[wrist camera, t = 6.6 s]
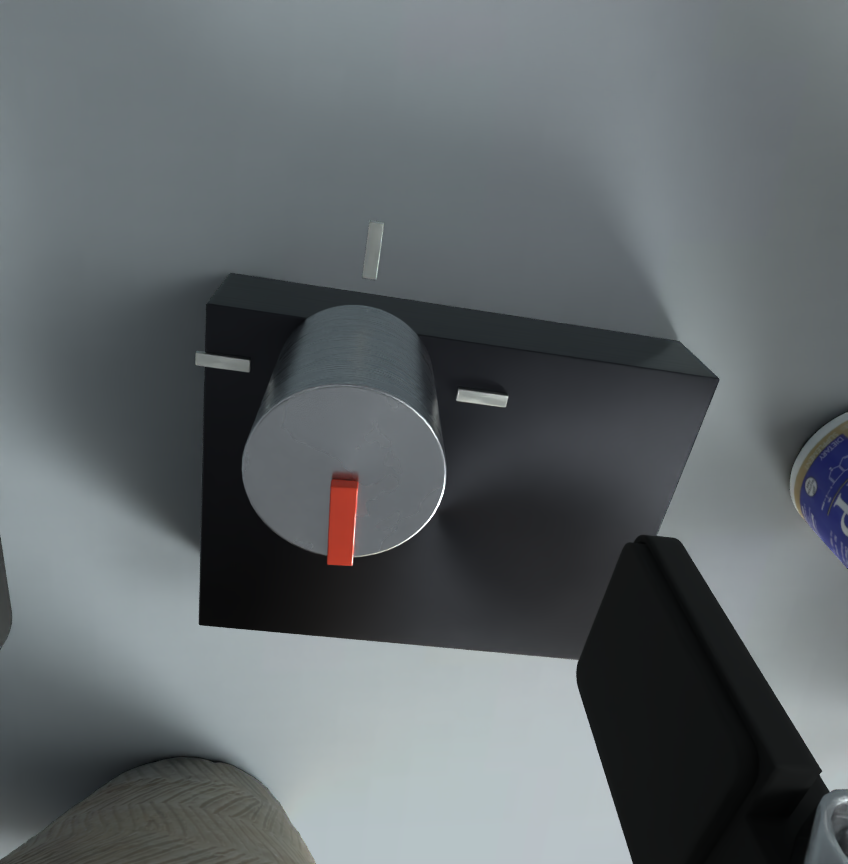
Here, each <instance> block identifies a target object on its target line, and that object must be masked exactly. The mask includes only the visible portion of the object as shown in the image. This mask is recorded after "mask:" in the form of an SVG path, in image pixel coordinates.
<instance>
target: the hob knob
mask: <svg viewBox="0 0 848 864" xmlns="http://www.w3.org/2000/svg"><path fill="white" fill-rule="evenodd" d="M242 477H243V483H244V487H245V491H246V494H247V496H248V498H249V501H250V503H251V505H252V506H253V508H254V510H255V511H256V513H257V514H258V516H259V517H260V518H261V519H262V521H263V522H264V523H265V524H266V525H267V526H268V527H269V528H270V529H271V530H272V531H273V532H275V533H276V534H277V535H279V536H280V537H281V538H282V539H284V540H286V541H288V542H289V543H291V544H293V545H295V546H297V547H299V548H302V549H304V550H307V551H310V552H313V553H316V554H321V555H325V556H327V564H328V565H345V566H352V565H353V557H362V556H368V555H373V554H378V553H381V552H384V551H387V550H389V549H392V548H394V547H396V546H398V545H400V544H402V543H404V542H405V541H407V540H408V539H410V538H411V537H413V536H414V535H415V534H416V533H418V532H419V531H420V530H421V529H422V528H423V527H424V526H425V525H426V524H427V523H428V521H429V520H430V519H431V517H432V516H433V515H434V513H435V511H436V510H437V508H438V506H439V504H440V502H441V499H442V497H443V494H444V490H445V485H446V477H447V467H446V457H445V450H444V444H443V437H442V430H441V423H440V416H439V409H438V402H437V395H436V388H435V382H434V375H433V368H432V364H431V359H430V356H429V354H428V351H427V349H426V347H425V346H424V344H423V342H422V340H421V339H420V338H419V336H418V335H417V334H416V333H415V332H414V331H413V330H412V329H411V328H410V327H409V326H408V325H407V324H406V323H405V322H403V321H402V320H401V319H399V318H397V317H396V316H394V315H392V314H390V313H388V312H386V311H383V310H381V309H377V308H374V307H370V306H363V305H343V306H336V307H332V308H328V309H325V310H323V311H320V312H318V313H316V314H314V315H312V316H310V317H309V318H307V319H306V320H305V321H303V322H302V323H301V324H300V325H298V326H297V327H296V328H295V329H294V330H293V332H292V333H291V334H290V336H289V337H288V338H287V340H286V342H285V343H284V345H283V347H282V350H281V352H280V355H279V358H278V360H277V363H276V366H275V368H274V371H273V373H272V376H271V379H270V381H269V384H268V387H267V389H266V392H265V394H264V397H263V400H262V402H261V405H260V408H259V410H258V413H257V415H256V418H255V421H254V423H253V426H252V429H251V431H250V434H249V437H248V439H247V442H246V444H245V448H244V452H243V457H242Z"/></svg>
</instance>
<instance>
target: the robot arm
mask: <svg viewBox="0 0 848 864" xmlns="http://www.w3.org/2000/svg"><path fill="white" fill-rule="evenodd" d="M11 624H12V610H11V604H10V597H9V590H8V584H7V577H6V570H5V564H4V557H3V551H2V544H1V537H0V649H1V648H2V646H3V645H4V643H5V641H6V639H7V637H8V635H9V632H10V629H11ZM576 678H577V685H578V689H579V692H580V695H581V698H582V702H583V705H584V708H585V711H586V714H587V718H588V721H589V724H590V727H591V730H592V734H593V737H594V740H595V743H596V746H597V750H598V753H599V756H600V759H601V762H602V766H603V769H604V772H605V775H606V779H607V782H608V785H609V788H610V791H611V795H612V798H613V801H614V804H615V807H616V811H617V814H618V817H619V820H620V823H621V827H622V830H623V833H624V836H625V839H626V843H627V846H628V849H629V852H630V855H631V859H632V862H633V864H848V789H840V790H833V791H831V792H829V790H828V788H827V787H826V785H825V784H824V782H823V780H822V779H821V777H820V775H819V774H820V773H821V772H822V770H821V769H820V767H819V765H818V764H817V762H816V760H815V759H814V757H813V756H812V754H811V752H810V751H809V749H808V747H807V746H806V744H805V743H804V741H803V739H802V738H801V736H800V734H799V733H798V731H797V730H796V728H795V726H794V725H793V723H792V721H791V720H790V718H789V717H788V715H787V713H786V712H785V710H784V708H783V707H782V705H781V704H780V702H779V700H778V699H777V697H776V695H775V694H774V692H773V691H772V689H771V687H770V686H769V684H768V682H767V681H766V679H765V678H764V676H763V674H762V673H761V671H760V669H759V668H758V666H757V665H756V663H755V661H754V660H753V658H752V656H751V655H750V653H749V652H748V650H747V648H746V647H745V645H744V643H743V642H742V640H741V639H740V637H739V635H738V634H737V632H736V630H735V629H734V627H733V626H732V624H731V622H730V621H729V619H728V617H727V616H726V614H725V613H724V611H723V609H722V608H721V606H720V604H719V603H718V601H717V600H716V598H715V596H714V595H713V593H712V591H711V590H710V588H709V587H708V585H707V583H706V582H705V580H704V578H703V577H702V575H701V574H700V572H699V570H698V569H697V567H696V565H695V564H694V562H693V561H692V559H691V557H690V556H689V554H688V552H687V551H686V549H685V548H684V546H683V544H682V543H681V542H680V541H679V540H678V539H675V538H669V537H660V536H651V535H639V536H638V537H637V538H636V539H635V541H634V543H631V542H629V543H626V544H625V545H624V547H623V549H622V551H621V554H620V556H619V559H618V561H617V564H616V566H615V569H614V572H613V574H612V577H611V579H610V582H609V584H608V587H607V589H606V592H605V594H604V597H603V600H602V602H601V605H600V607H599V610H598V612H597V615H596V617H595V620H594V622H593V625H592V628H591V630H590V633H589V635H588V638H587V640H586V643H585V645H584V648H583V651H582V653H581V656H580V658H579V661H578V664H577V671H576Z"/></svg>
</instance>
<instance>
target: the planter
mask: <svg viewBox="0 0 848 864" xmlns="http://www.w3.org/2000/svg"><path fill="white" fill-rule="evenodd" d="M0 864H316V863H315V861H314V859H313V857H312V855H311V853H310V852H309V850H308V848H307V846H306V844H305V842H304V841H303V839H302V838H301V836H300V834H299V832H298V831H297V830H296V829H295V827H294V826H293V825H292V823H291V822H290V820H289V818H288V816H287V815H286V813H285V811H284V809H283V808H282V806H281V804H280V803H279V802H278V801H277V800H276V799H275V797H274V796H273V795H272V794H271V792H270V791H269V789H268V788H267V787H265V786H264V785H263V784H262V783H261V782H260V781H258V780H257V779H255V778H253V777H251V776H250V775H249V774H247V773H245V772H244V771H242V770H239V769H237V768H236V767H234V766H232V765H229V764H226V763H222V762H218V763H213V762H211V761H209V760H204V759H201V758H186V757H176V758H171V759H164V760H160V761H158V762H155V763H148V764H145V765H143V766H139V767H136V768H134V769H132V770H128V771H126V772H124V773H122V774H121V775H119V776H118V777H116V778H114V779H112V780H111V781H110V782H108V783H107V784H105V785H104V786H103V787H101V788H99V789H98V790H96V791H95V792H94V793H93V794H91V795H90V796H89V797H87V798H86V799H84V800H83V801H81V802H80V803H78V804H77V805H75V806H74V807H72V808H71V809H70V810H68V811H67V812H66V813H64V814H63V815H62V816H60V817H59V818H57V819H56V820H55V821H54V822H52V823H51V824H50V825H49V826H48V827H46V828H45V829H44V830H42V831H41V832H40V833H38V834H37V835H36V836H34V837H32V838H30V839H29V840H28V841H27V842H26V843H24V844H23V845H21V846H20V847H18V848H17V849H16V850H14V851H12V852H11V853H10V854H9V855H7V856H6V857H4V858H3V859H1V860H0Z"/></svg>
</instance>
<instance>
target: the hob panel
mask: <svg viewBox="0 0 848 864" xmlns="http://www.w3.org/2000/svg"><path fill="white" fill-rule="evenodd" d="M383 229H384V223H383V222H377V221H371V220H370V221H369V228H368V235H367V243H366V251H365V259H364V266H363V274H362V278H365V279H371V280H376V279H377V272H378V264H379V257H380V250H381V243H382V236H383ZM343 305H363V306H370V307H374V308H377V309H381V310H383V311H386V312H388V313H390V314H392V315H394V316H396V317H397V318H399V319H401V320H402V321H403V322H405V323H406V324H407V325H408V326H409V327H410V328H411V329H412V330H413V331H414V332H415V333H416V334H417V335H418V336H419V338H420V339H421V340H422V342H423V344H424V346H425V347H426V349H427V351H428V354H429V356H430V359H431V364H432V368H433V375H434V382H435V388H436V395H437V402H438V409H439V416H440V423H441V430H442V437H443V444H444V450H445V457H446V467H447V477H446V485H445V490H444V494H443V497H442V499H441V502H440V504H439V506H438V508H437V510H436V511H435V513H434V515H433V516H432V517H431V519H430V520H429V521H428V523H427V524H426V525H425V526H424V527H423V528H422V529H421V530H420V531H419V532H418V533H416V534H415V535H414V536H413V537H411V538H410V539H408V540H407V541H405V542H404V543H402V544H400V545H398V546H396V547H394V548H392V549H389V550H387V551H384V552H381V553H378V554H373V555H368V556H362V557H353V565H352V566H345V565H328V564H327V556H325V555H321V554H316V553H313V552H310V551H307V550H304V549H302V548H299V547H297V546H295V545H293V544H291V543H289V542H288V541H286V540H284V539H282V538H281V537H280V536H279V535H277V534H276V533H275V532H273V531H272V530H271V529H270V528H269V527H268V526H267V525H266V524H265V523H264V522H263V521H262V519H261V518H260V517H259V516H258V514H257V513H256V511H255V510H254V508H253V506H252V505H251V503H250V501H249V498H248V496H247V494H246V491H245V487H244V483H243V477H242V457H243V452H244V448H245V444H246V442H247V439H248V437H249V434H250V431H251V429H252V426H253V423H254V421H255V418H256V415H257V413H258V410H259V408H260V405H261V402H262V400H263V397H264V394H265V392H266V389H267V387H268V384H269V381H270V379H271V376H272V373H273V371H274V368H275V366H276V363H277V360H278V358H279V355H280V352H281V350H282V347H283V345H284V343H285V342H286V340H287V338H288V337H289V336H290V334H291V333H292V332H293V330H294V329H295V328H296V327H297V326H298V325H300V324H301V323H302V322H303V321H305V320H306V319H307V318H309V317H310V316H312V315H314V314H316V313H318V312H320V311H323V310H325V309H328V308H332V307H336V306H343ZM195 365H197V366H204V367H205V377H204V420H203V463H202V506H201V549H200V592H199V625H203V626H214V627H225V628H236V629H247V630H258V631H269V632H280V633H291V634H301V635H312V636H323V637H334V638H345V639H356V640H367V641H378V642H389V643H400V644H410V645H421V646H432V647H443V648H454V649H465V650H476V651H487V652H498V653H509V654H519V655H530V656H541V657H552V658H563V659H574V660H579V658H580V656H581V653H582V651H583V648H584V645H585V643H586V640H587V638H588V635H589V633H590V630H591V628H592V625H593V622H594V620H595V617H596V615H597V612H598V610H599V607H600V605H601V602H602V600H603V597H604V594H605V592H606V589H607V587H608V584H609V582H610V579H611V577H612V574H613V572H614V569H615V566H616V564H617V561H618V559H619V556H620V554H621V551H622V549H623V547H624V545H625V544H626V543H629V542H631V543H634V541H635V539H636V538H637V537H638V536H639V535H651V536H657V534H658V531H659V529H660V526H661V524H662V521H663V519H664V516H665V514H666V511H667V509H668V506H669V504H670V501H671V499H672V496H673V494H674V491H675V489H676V487H677V484H678V482H679V479H680V477H681V474H682V472H683V469H684V467H685V464H686V462H687V459H688V457H689V454H690V452H691V449H692V447H693V444H694V442H695V439H696V437H697V434H698V432H699V430H700V427H701V425H702V422H703V420H704V417H705V415H706V412H707V410H708V407H709V405H710V402H711V400H712V397H713V395H714V392H715V390H716V387H717V385H718V382H719V378H718V377H717V376H716V375H715V374H714V373H713V372H712V371H711V370H710V369H709V368H707V367H706V366H705V365H704V364H703V363H702V362H701V361H700V360H699V359H698V358H697V357H696V356H695V355H694V354H693V353H692V352H690V351H689V350H688V349H687V348H686V347H685V346H684V345H683V344H682V343H681V342H680V341H675V340H668V339H662V338H655V337H649V336H642V335H635V334H629V333H622V332H616V331H609V330H603V329H596V328H589V327H583V326H576V325H570V324H563V323H557V322H550V321H544V320H537V319H530V318H524V317H517V316H511V315H504V314H498V313H491V312H484V311H478V310H471V309H465V308H458V307H452V306H445V305H439V304H432V303H425V302H419V301H412V300H406V299H399V298H393V297H386V296H380V295H373V294H366V293H360V292H353V291H347V290H340V289H334V288H327V287H320V286H314V285H307V284H301V283H294V282H288V281H281V280H275V279H268V278H261V277H255V276H248V275H242V274H235V273H230V274H229V275H228V277H227V278H226V279H225V281H224V282H223V283H222V284H221V286H220V287H219V288H218V290H217V291H216V292H215V294H214V295H213V296H212V297H211V299H210V300H209V301H208V303H207V304H206V333H205V352H201V351H197V352H196V353H195Z"/></svg>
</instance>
